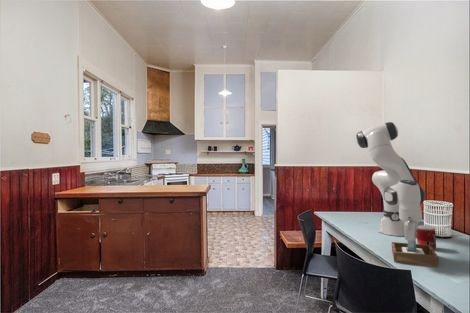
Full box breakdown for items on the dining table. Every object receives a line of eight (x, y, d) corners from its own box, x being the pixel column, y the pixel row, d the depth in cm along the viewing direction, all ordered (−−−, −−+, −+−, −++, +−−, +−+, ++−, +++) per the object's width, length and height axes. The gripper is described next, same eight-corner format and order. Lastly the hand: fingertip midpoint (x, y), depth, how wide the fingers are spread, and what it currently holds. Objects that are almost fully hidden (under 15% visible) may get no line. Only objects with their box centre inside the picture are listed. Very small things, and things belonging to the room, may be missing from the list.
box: (392, 251, 134) (391, 241, 134) (431, 255, 126) (430, 245, 126) (394, 263, 119) (393, 252, 120) (438, 268, 112) (437, 256, 112)
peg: (406, 254, 125) (405, 228, 125) (414, 254, 124) (412, 228, 125) (410, 257, 122) (409, 230, 122) (417, 257, 121) (416, 230, 121)
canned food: (430, 252, 131) (429, 229, 131) (414, 247, 138) (412, 226, 138) (440, 249, 134) (438, 227, 134) (423, 245, 141) (422, 224, 142)
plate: (402, 254, 128) (401, 246, 128) (422, 256, 125) (421, 248, 125) (403, 259, 121) (403, 252, 121) (425, 262, 117) (424, 254, 118)
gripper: (417, 220, 113) (419, 253, 113) (419, 212, 130) (421, 240, 129) (400, 219, 117) (401, 251, 117) (404, 211, 133) (405, 239, 133)
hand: (412, 245), depth 123 cm, fingers closed on peg, 3 cm apart
